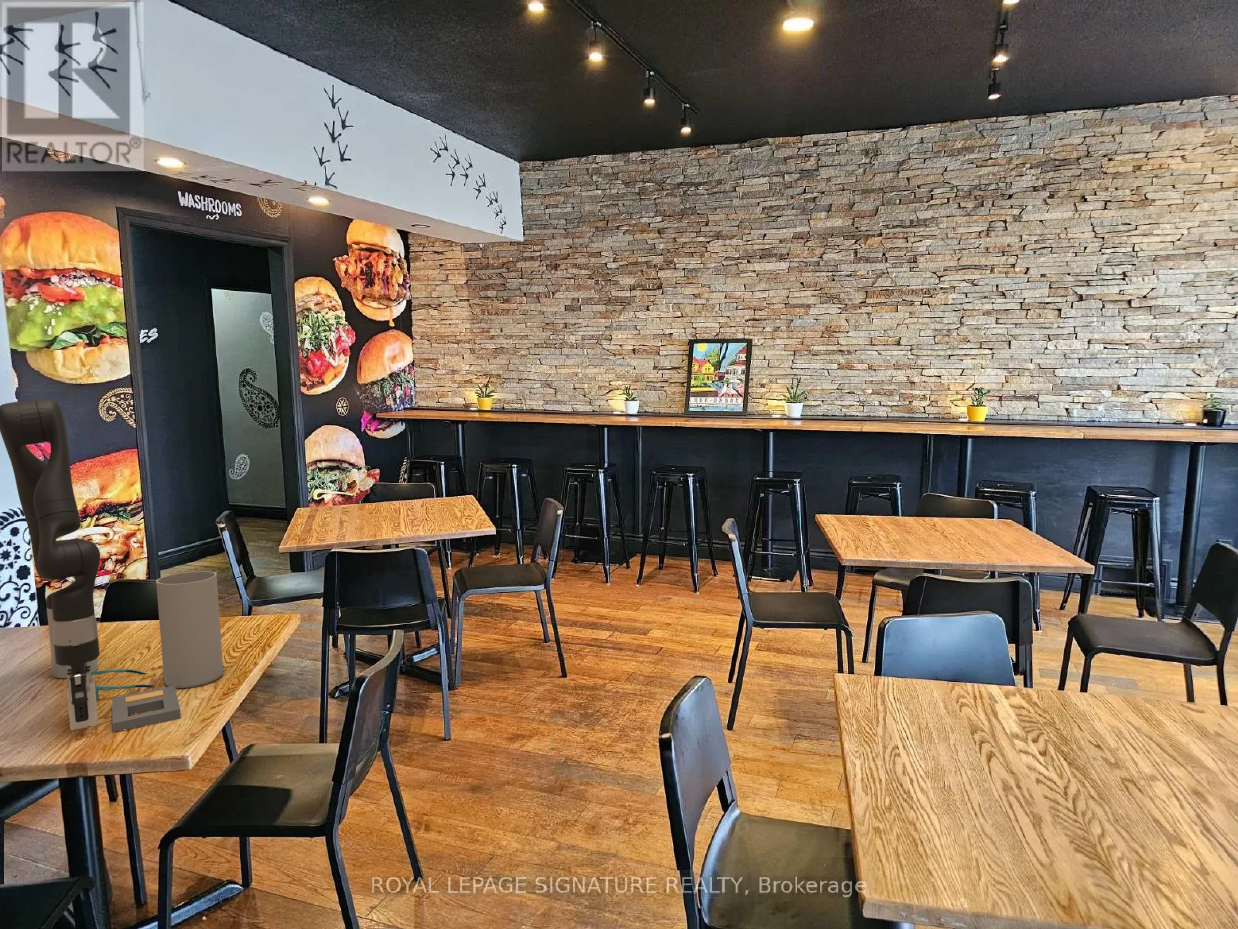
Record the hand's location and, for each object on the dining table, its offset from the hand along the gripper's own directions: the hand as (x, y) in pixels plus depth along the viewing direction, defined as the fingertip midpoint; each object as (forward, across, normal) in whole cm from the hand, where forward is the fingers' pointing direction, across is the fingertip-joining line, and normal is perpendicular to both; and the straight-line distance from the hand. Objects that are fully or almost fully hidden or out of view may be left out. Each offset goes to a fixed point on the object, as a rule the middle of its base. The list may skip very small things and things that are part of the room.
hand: (82, 713), depth 161 cm
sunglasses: (+3, -20, +6) cm, 21 cm away
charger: (+2, 0, 0) cm, 2 cm away
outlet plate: (+2, 0, +11) cm, 11 cm away
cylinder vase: (+3, -15, +22) cm, 27 cm away
